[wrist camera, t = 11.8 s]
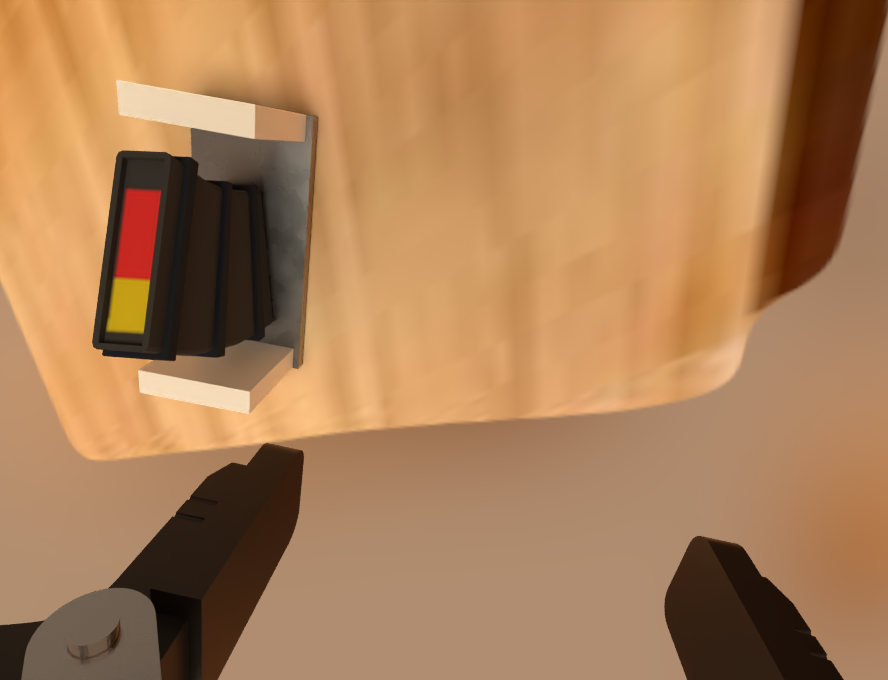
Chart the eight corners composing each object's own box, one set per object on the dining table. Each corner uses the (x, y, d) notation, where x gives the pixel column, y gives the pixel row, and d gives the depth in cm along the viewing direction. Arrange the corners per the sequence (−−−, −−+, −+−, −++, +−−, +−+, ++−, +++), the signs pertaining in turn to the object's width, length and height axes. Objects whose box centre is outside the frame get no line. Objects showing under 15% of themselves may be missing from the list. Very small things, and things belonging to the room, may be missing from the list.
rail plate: (198, 95, 36) (190, 94, 35) (318, 117, 35) (313, 116, 34) (203, 344, 43) (196, 349, 42) (302, 364, 43) (298, 368, 42)
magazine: (229, 363, 40) (84, 354, 25) (246, 208, 41) (116, 112, 26) (273, 367, 40) (152, 359, 25) (289, 211, 41) (182, 115, 26)
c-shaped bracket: (197, 95, 35) (116, 79, 27) (306, 114, 34) (255, 104, 27) (202, 350, 42) (139, 392, 35) (292, 367, 42) (249, 414, 34)
